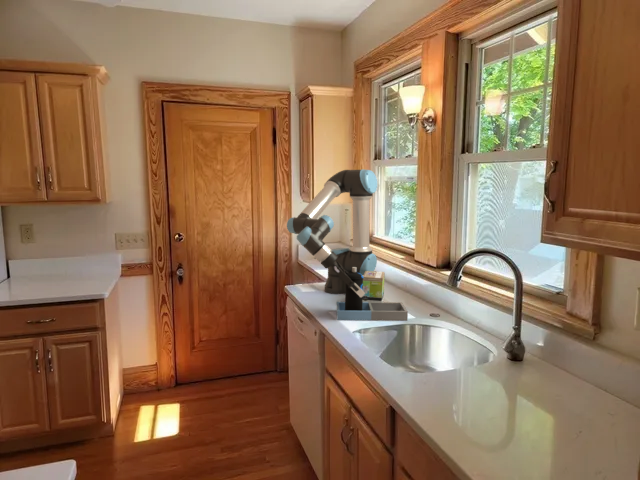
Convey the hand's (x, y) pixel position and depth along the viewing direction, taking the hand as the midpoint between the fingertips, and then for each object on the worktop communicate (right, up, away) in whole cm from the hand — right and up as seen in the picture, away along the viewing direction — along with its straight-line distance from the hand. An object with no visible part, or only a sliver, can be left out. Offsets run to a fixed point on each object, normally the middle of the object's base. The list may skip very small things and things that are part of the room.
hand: (362, 292), depth 192 cm
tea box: (+7, -8, +20) cm, 23 cm away
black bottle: (-4, -9, +1) cm, 10 cm away
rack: (+4, -10, +1) cm, 11 cm away
